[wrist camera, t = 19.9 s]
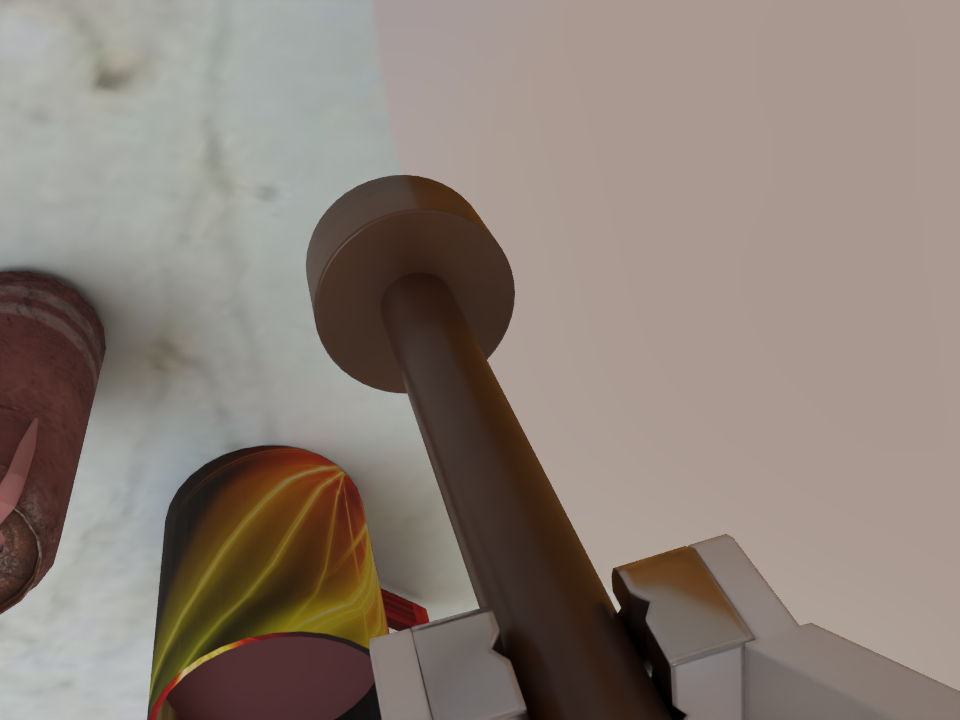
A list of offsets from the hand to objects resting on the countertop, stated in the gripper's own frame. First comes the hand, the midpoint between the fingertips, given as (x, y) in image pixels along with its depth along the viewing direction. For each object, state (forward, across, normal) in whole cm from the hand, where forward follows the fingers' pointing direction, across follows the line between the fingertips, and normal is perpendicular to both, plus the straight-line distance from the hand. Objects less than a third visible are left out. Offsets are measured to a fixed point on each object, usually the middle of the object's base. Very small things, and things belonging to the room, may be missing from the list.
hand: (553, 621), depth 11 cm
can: (+29, +14, +7) cm, 33 cm away
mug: (+29, +6, +21) cm, 36 cm away
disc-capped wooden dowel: (+12, 0, 0) cm, 12 cm away
